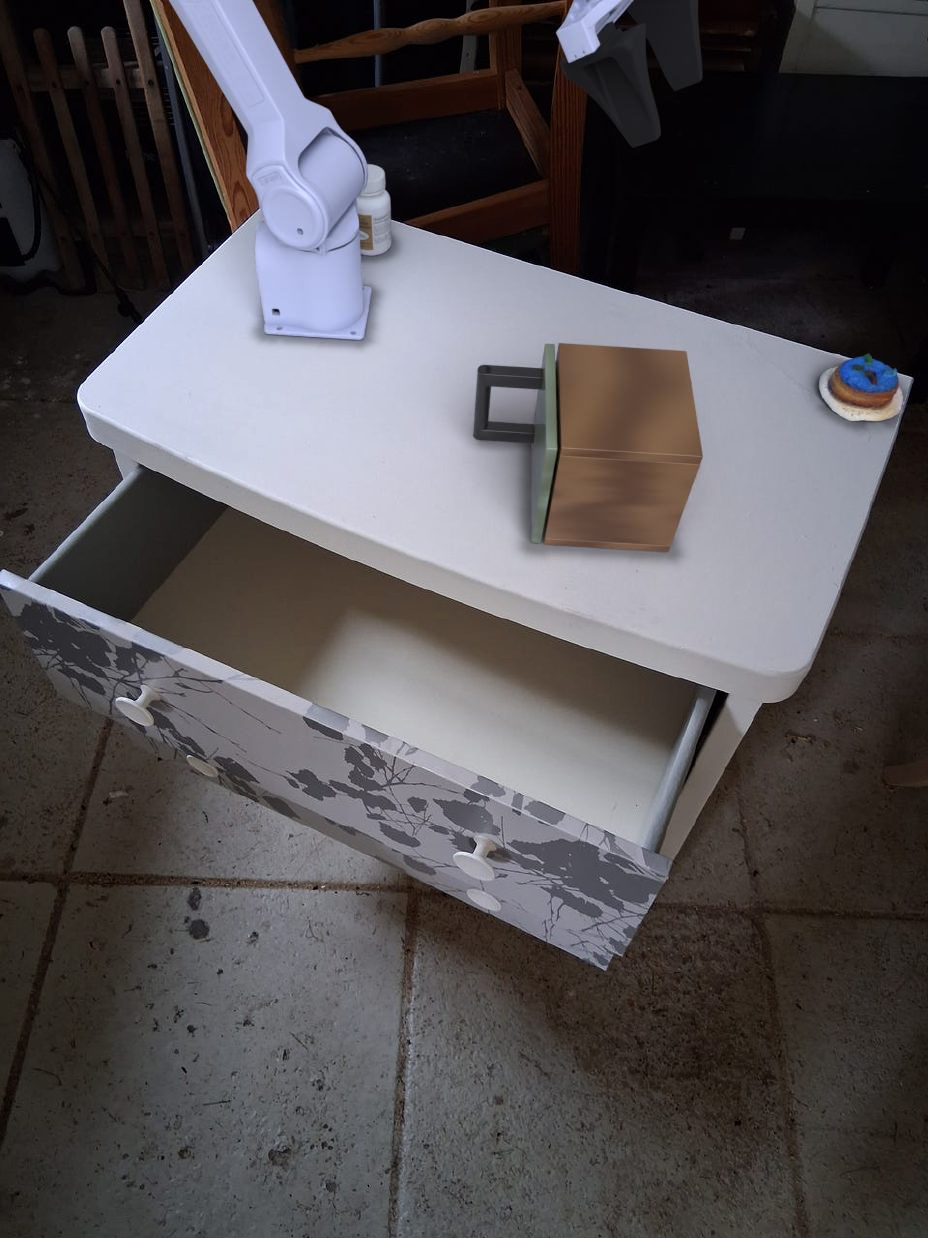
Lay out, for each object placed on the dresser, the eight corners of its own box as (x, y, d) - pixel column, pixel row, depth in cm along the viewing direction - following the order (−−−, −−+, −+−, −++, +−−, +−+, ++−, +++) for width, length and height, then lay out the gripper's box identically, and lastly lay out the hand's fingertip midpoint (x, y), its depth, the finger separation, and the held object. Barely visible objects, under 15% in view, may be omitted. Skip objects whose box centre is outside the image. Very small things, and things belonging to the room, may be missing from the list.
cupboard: (543, 545, 71) (561, 447, 62) (542, 443, 78) (558, 342, 69) (668, 552, 71) (703, 456, 62) (656, 450, 78) (686, 350, 69)
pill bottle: (341, 243, 94) (335, 170, 87) (372, 228, 96) (369, 156, 89) (368, 262, 92) (364, 189, 86) (400, 246, 94) (398, 174, 88)
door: (467, 539, 71) (473, 443, 62) (472, 437, 77) (479, 338, 69) (540, 543, 71) (557, 449, 62) (540, 441, 78) (555, 343, 69)
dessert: (833, 420, 80) (847, 351, 78) (800, 412, 86) (812, 348, 84) (916, 426, 81) (932, 358, 79) (878, 417, 87) (891, 354, 85)
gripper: (593, -85, 49) (679, 151, 57) (693, -186, 55) (757, 40, 63) (496, -31, 53) (588, 180, 62) (598, -129, 60) (669, 74, 68)
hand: (668, 112), depth 63 cm, fingers open, 7 cm apart
